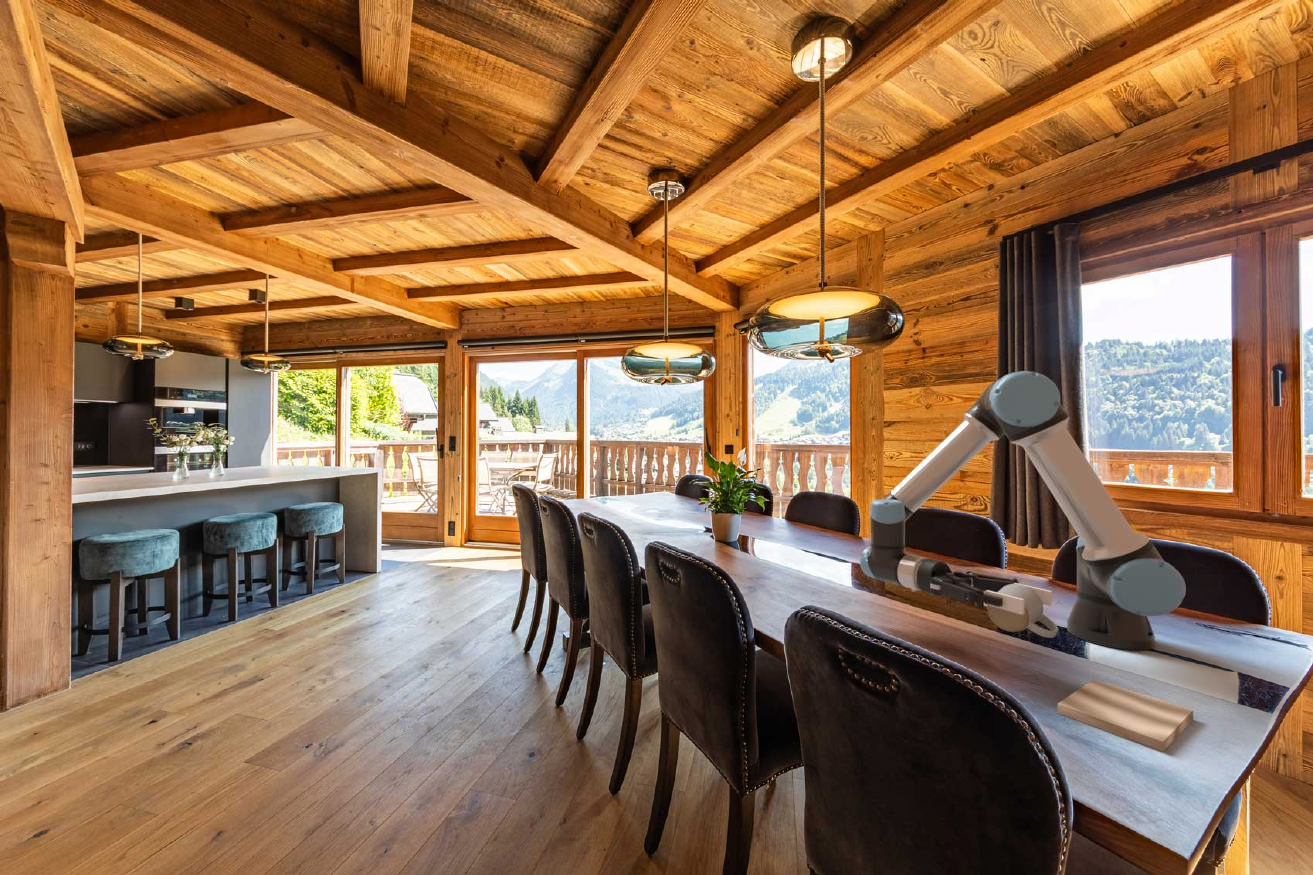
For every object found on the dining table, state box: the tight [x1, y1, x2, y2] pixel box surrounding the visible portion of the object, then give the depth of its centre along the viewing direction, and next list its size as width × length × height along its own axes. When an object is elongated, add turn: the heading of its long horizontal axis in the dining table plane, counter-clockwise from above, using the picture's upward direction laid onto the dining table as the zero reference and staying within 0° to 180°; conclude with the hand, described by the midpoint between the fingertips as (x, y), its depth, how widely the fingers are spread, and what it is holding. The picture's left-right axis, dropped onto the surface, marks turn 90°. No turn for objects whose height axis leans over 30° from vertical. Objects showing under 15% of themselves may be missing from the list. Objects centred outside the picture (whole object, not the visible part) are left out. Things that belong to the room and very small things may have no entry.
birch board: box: [1057, 678, 1194, 753], centre depth 87 cm, size 16×13×2 cm
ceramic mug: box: [986, 583, 1059, 639], centre depth 100 cm, size 11×8×8 cm
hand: (1037, 602), depth 98 cm, fingers closed on ceramic mug, 9 cm apart
